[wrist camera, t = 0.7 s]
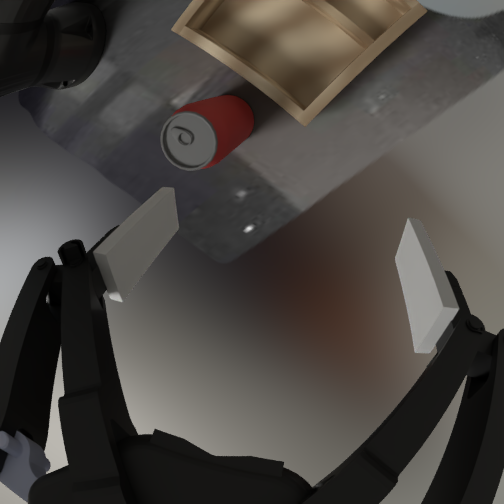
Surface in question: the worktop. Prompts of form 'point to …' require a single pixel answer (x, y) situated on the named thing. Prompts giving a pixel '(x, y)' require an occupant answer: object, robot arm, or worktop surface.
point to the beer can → (206, 131)
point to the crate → (297, 43)
